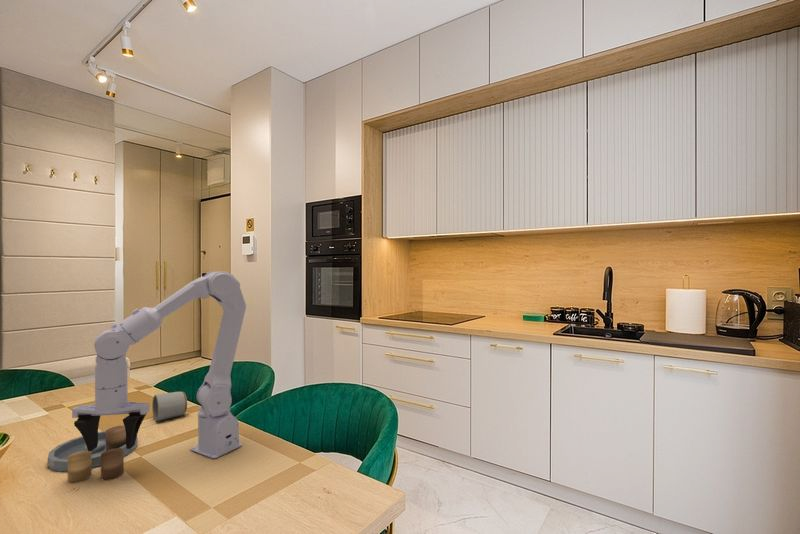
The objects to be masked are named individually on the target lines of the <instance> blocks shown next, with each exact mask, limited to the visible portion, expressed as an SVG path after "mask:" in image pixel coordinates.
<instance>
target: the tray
mask: <svg viewBox="0 0 800 534" xmlns="http://www.w3.org/2000/svg"><path fill="white" fill-rule="evenodd" d="M138 444H139V443H138V436H137V437H136V441H135V445H134V446H133V447H132V448H130V449H127V448H126V444H125V445H123V446H122V447H120V448H122V449H123V451H124V456H125V457H127V456H128V455H130V454H131V453H132V451H133V450H134V449H135V450H136V448H137V447H138ZM135 450H134V451H135ZM80 451H88V449H87V446H86V443H85V440H84V438H83V436H82V435H81V436H78V437H75V438H71V439H69V440H67V441H65V442H62V443H60V444H58V445H57V446H55V447H54V448H53V449H51V450H50V451H48V456H47V465H48V468H49V469H50V470H51V471H54V472H60V473H63V472H64V473H68V456H69V455H71V454H73V453H76V452H80ZM105 451H106V430H103V431H98V445H97V447H96V448H95V449H94V450H92V451H91V460H92V469H95V468H99V467H101V454H102V453H103V452H105ZM134 451H133V452H134ZM129 453H130V454H129ZM126 455H127V456H126Z"/></svg>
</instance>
